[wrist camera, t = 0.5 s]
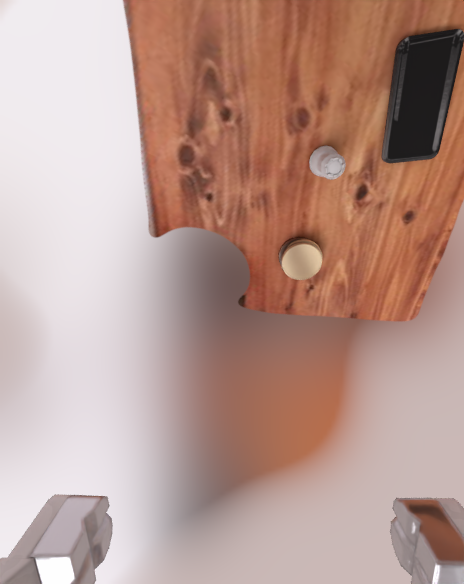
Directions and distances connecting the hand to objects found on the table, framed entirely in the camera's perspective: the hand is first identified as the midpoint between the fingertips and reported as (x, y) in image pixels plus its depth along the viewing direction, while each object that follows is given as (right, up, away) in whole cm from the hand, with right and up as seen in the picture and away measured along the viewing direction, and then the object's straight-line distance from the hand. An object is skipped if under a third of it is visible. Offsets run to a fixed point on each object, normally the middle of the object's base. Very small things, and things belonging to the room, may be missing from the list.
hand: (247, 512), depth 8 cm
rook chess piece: (+14, +27, +38) cm, 49 cm away
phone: (+26, +33, +33) cm, 54 cm away
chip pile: (+12, +13, +46) cm, 49 cm away
